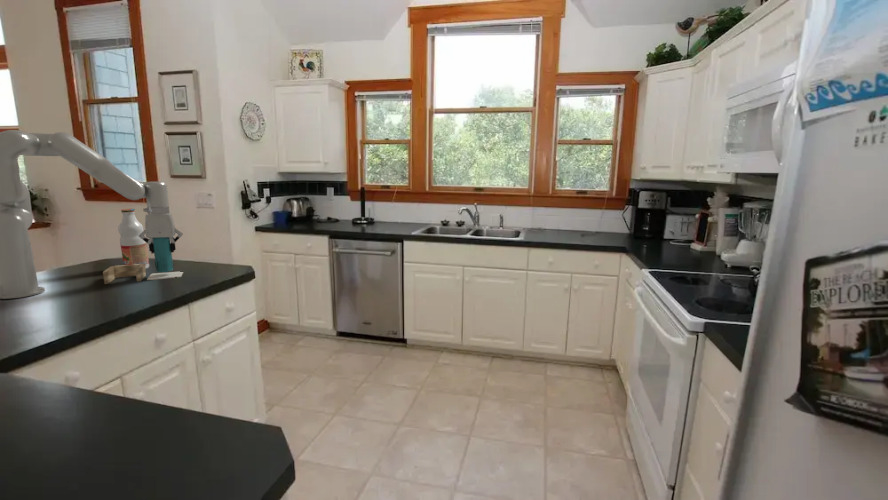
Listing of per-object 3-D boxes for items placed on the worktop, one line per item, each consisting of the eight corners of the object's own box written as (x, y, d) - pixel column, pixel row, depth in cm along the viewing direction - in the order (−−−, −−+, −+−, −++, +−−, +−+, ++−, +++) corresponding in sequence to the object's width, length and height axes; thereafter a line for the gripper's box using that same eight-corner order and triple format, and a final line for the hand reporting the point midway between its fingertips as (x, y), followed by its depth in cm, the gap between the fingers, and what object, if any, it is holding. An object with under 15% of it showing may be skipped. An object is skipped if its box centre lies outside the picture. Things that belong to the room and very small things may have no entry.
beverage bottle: (177, 272, 179) (173, 227, 174) (166, 276, 172) (161, 229, 168) (164, 271, 179) (159, 226, 175) (152, 275, 173) (146, 229, 169)
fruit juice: (145, 271, 185) (136, 210, 179) (121, 272, 182) (110, 210, 176) (152, 265, 193) (144, 207, 187) (129, 267, 190) (119, 208, 184)
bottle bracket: (104, 284, 162) (102, 272, 161) (112, 277, 173) (111, 266, 172) (140, 281, 167) (139, 269, 166) (146, 274, 178) (145, 263, 177)
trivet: (147, 280, 169) (146, 278, 169) (151, 274, 178) (151, 273, 178) (180, 277, 174) (180, 276, 174) (183, 272, 183) (183, 271, 183)
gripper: (131, 212, 164) (136, 255, 167) (181, 211, 171) (185, 252, 174) (135, 210, 170) (140, 252, 174) (183, 210, 178) (187, 249, 181)
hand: (162, 252), depth 174 cm, fingers closed on beverage bottle, 6 cm apart
